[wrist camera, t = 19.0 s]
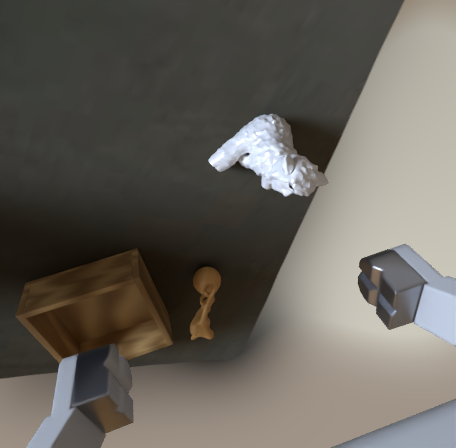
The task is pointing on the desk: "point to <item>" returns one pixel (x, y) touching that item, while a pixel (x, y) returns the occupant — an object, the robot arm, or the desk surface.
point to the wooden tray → (97, 308)
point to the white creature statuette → (270, 157)
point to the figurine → (206, 285)
